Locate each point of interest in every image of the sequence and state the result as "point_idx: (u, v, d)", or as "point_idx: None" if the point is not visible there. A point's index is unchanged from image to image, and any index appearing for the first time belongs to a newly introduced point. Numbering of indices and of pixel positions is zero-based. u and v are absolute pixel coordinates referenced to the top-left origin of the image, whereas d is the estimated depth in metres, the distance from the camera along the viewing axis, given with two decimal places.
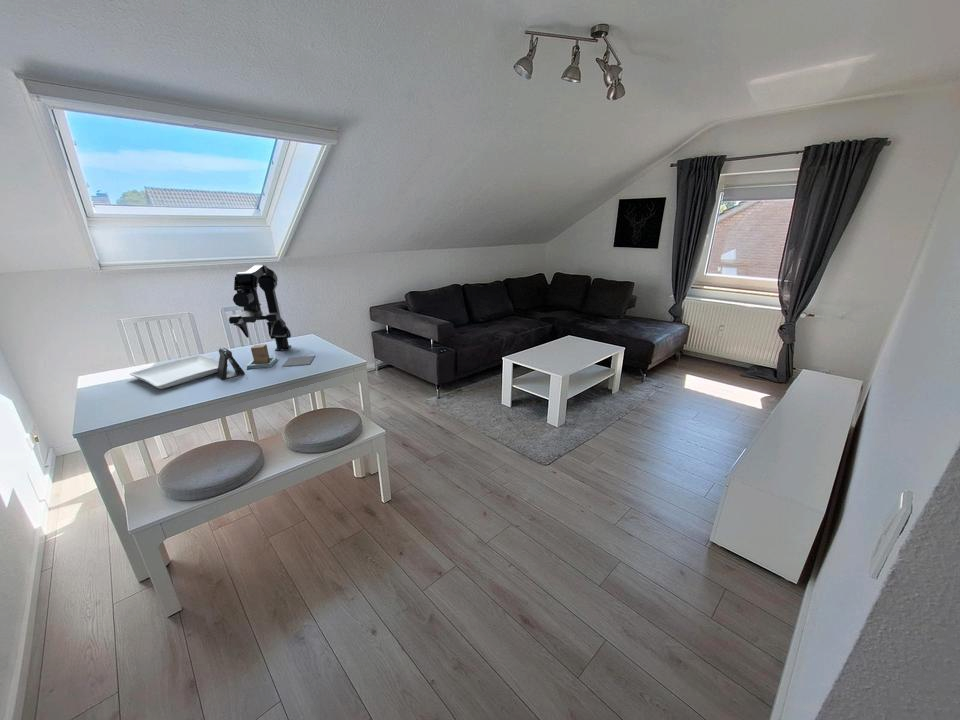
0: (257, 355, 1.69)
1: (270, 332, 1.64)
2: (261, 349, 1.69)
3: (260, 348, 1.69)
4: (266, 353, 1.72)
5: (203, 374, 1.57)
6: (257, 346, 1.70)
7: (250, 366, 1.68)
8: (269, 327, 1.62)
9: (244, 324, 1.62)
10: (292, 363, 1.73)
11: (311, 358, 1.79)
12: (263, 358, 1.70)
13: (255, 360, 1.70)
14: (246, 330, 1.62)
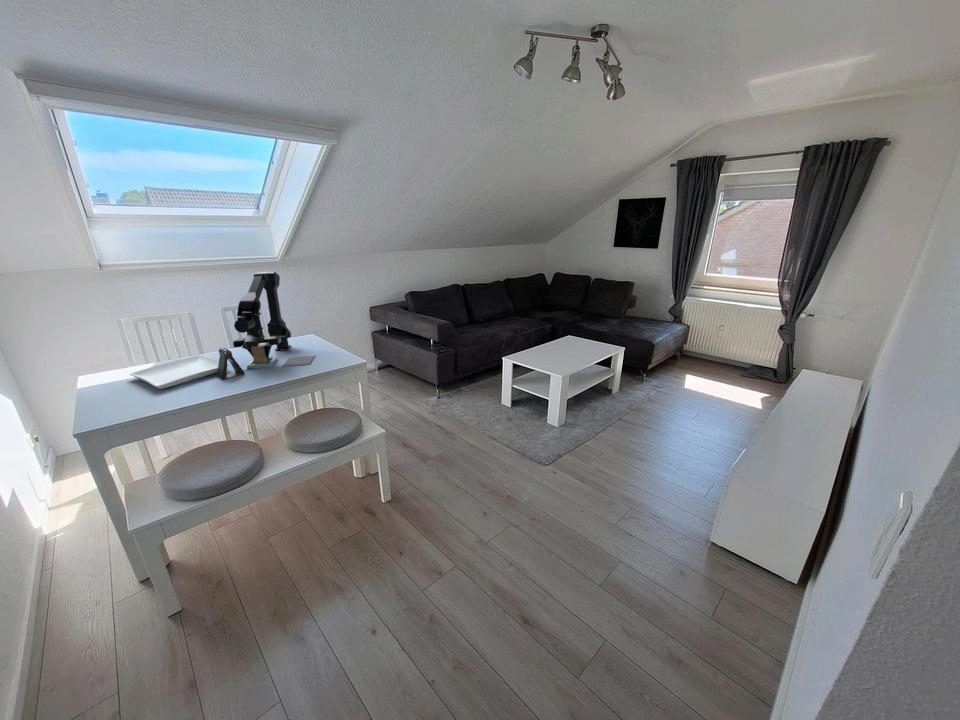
0: (257, 355, 1.69)
1: (267, 355, 1.72)
2: (261, 349, 1.69)
3: (260, 348, 1.69)
4: None
5: (203, 374, 1.57)
6: (257, 346, 1.70)
7: (250, 366, 1.68)
8: (266, 350, 1.71)
9: None
10: (292, 363, 1.73)
11: (311, 358, 1.79)
12: (263, 358, 1.70)
13: (255, 360, 1.70)
14: None
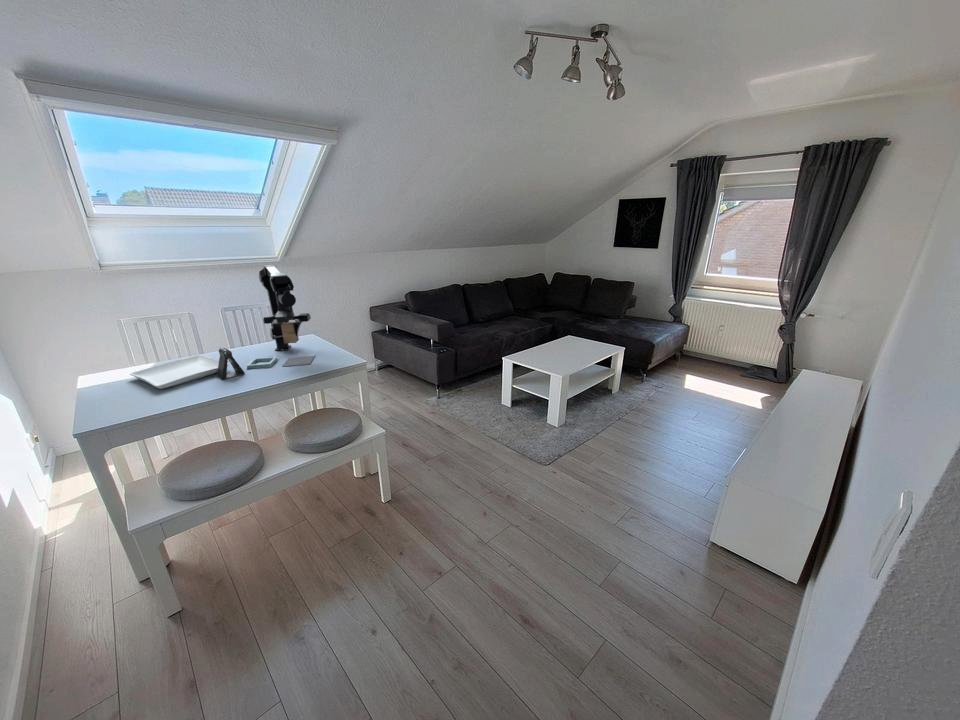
0: (287, 332, 1.68)
1: (297, 332, 1.71)
2: (291, 326, 1.68)
3: (290, 325, 1.68)
4: None
5: (203, 374, 1.57)
6: (287, 323, 1.69)
7: (250, 366, 1.68)
8: (296, 327, 1.70)
9: None
10: (292, 363, 1.73)
11: (311, 358, 1.79)
12: (292, 335, 1.69)
13: (284, 337, 1.69)
14: None
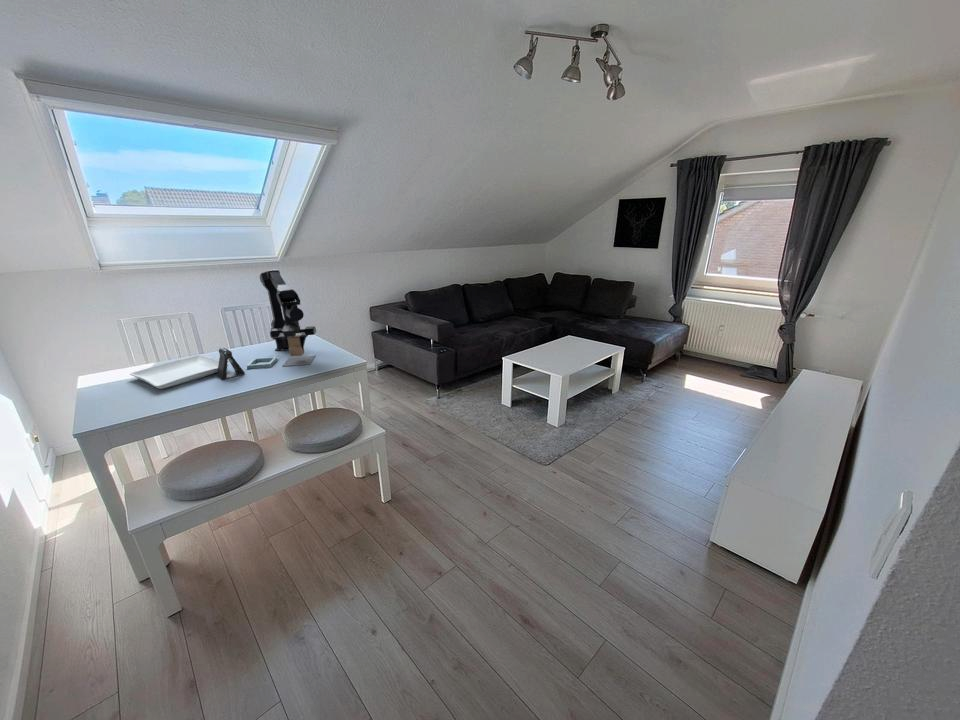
0: (293, 345, 1.71)
1: (303, 345, 1.74)
2: (297, 339, 1.71)
3: (296, 338, 1.70)
4: None
5: (203, 374, 1.57)
6: None
7: (250, 366, 1.68)
8: (302, 340, 1.73)
9: (287, 337, 1.73)
10: (292, 363, 1.73)
11: (311, 358, 1.79)
12: (299, 348, 1.72)
13: (291, 350, 1.72)
14: None
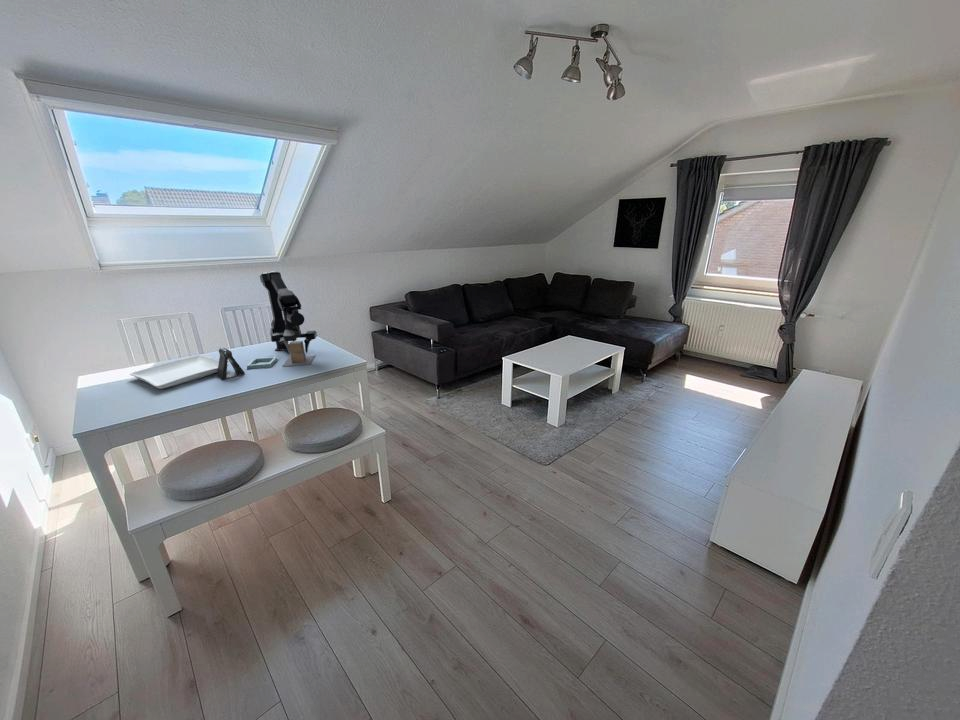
0: (295, 352, 1.72)
1: (306, 349, 1.75)
2: (298, 346, 1.72)
3: (297, 345, 1.72)
4: (302, 350, 1.75)
5: (203, 374, 1.57)
6: (294, 343, 1.73)
7: (250, 366, 1.68)
8: (306, 344, 1.73)
9: (285, 342, 1.73)
10: (292, 363, 1.73)
11: (311, 358, 1.79)
12: (300, 355, 1.73)
13: (292, 356, 1.73)
14: (287, 347, 1.74)
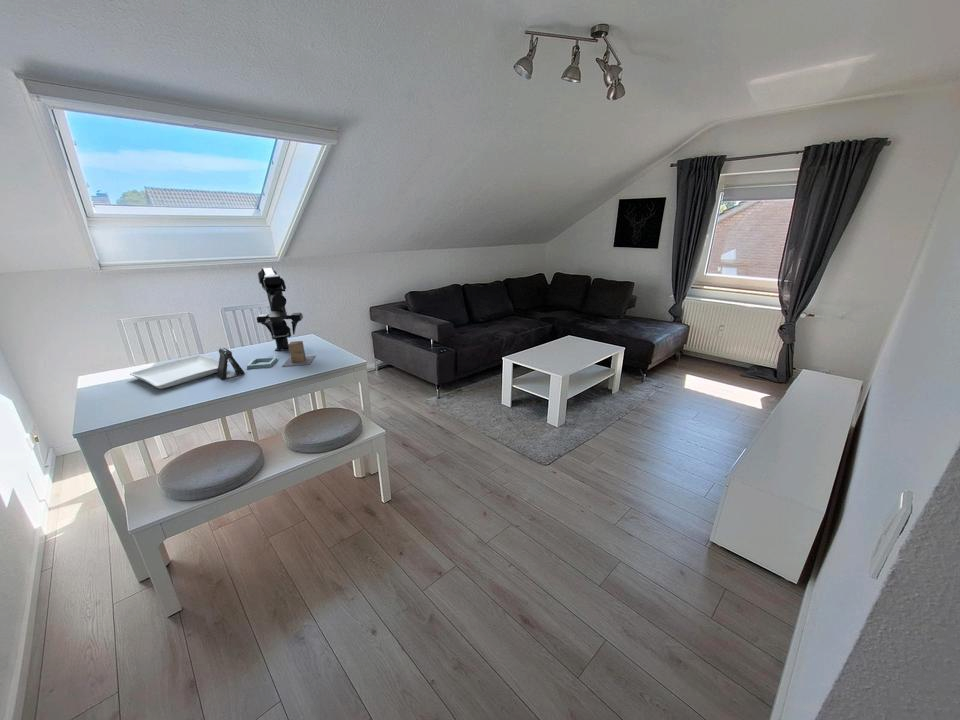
0: (295, 352, 1.72)
1: (294, 331, 1.77)
2: (298, 346, 1.72)
3: (297, 345, 1.72)
4: (302, 350, 1.75)
5: (203, 374, 1.57)
6: (294, 343, 1.73)
7: (250, 366, 1.68)
8: (293, 326, 1.76)
9: (270, 323, 1.75)
10: (292, 363, 1.73)
11: (311, 358, 1.79)
12: (300, 355, 1.73)
13: (292, 356, 1.73)
14: (272, 328, 1.76)
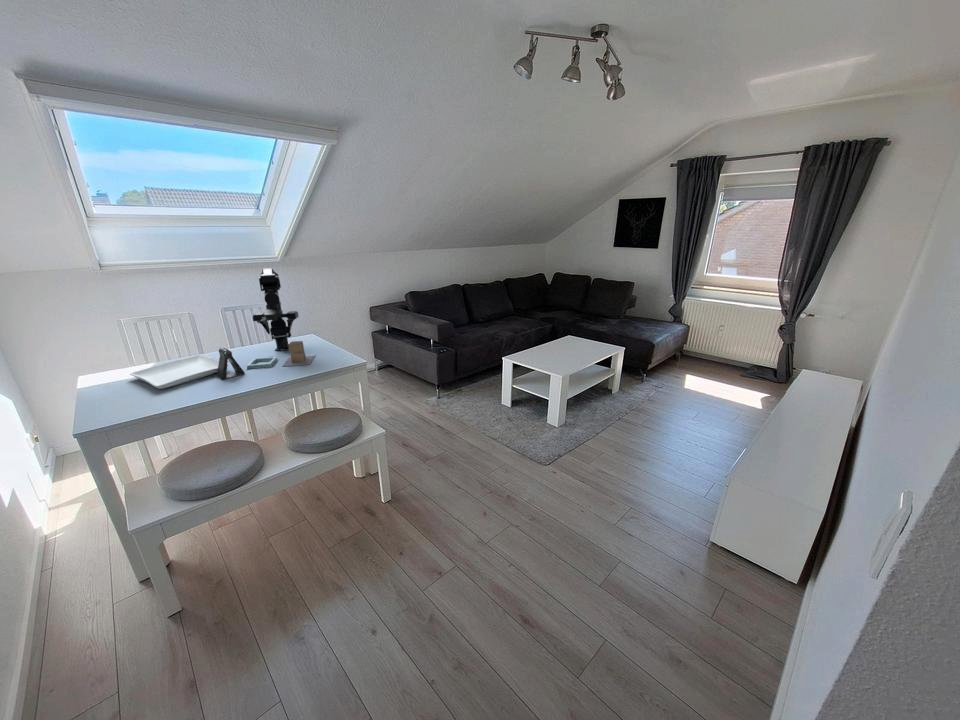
0: (295, 352, 1.72)
1: (289, 329, 1.78)
2: (298, 346, 1.72)
3: (297, 345, 1.72)
4: (302, 350, 1.75)
5: (203, 374, 1.57)
6: (294, 343, 1.73)
7: (250, 366, 1.68)
8: (289, 324, 1.77)
9: (266, 321, 1.77)
10: (292, 363, 1.73)
11: (311, 358, 1.79)
12: (300, 355, 1.73)
13: (292, 356, 1.73)
14: (268, 327, 1.77)
